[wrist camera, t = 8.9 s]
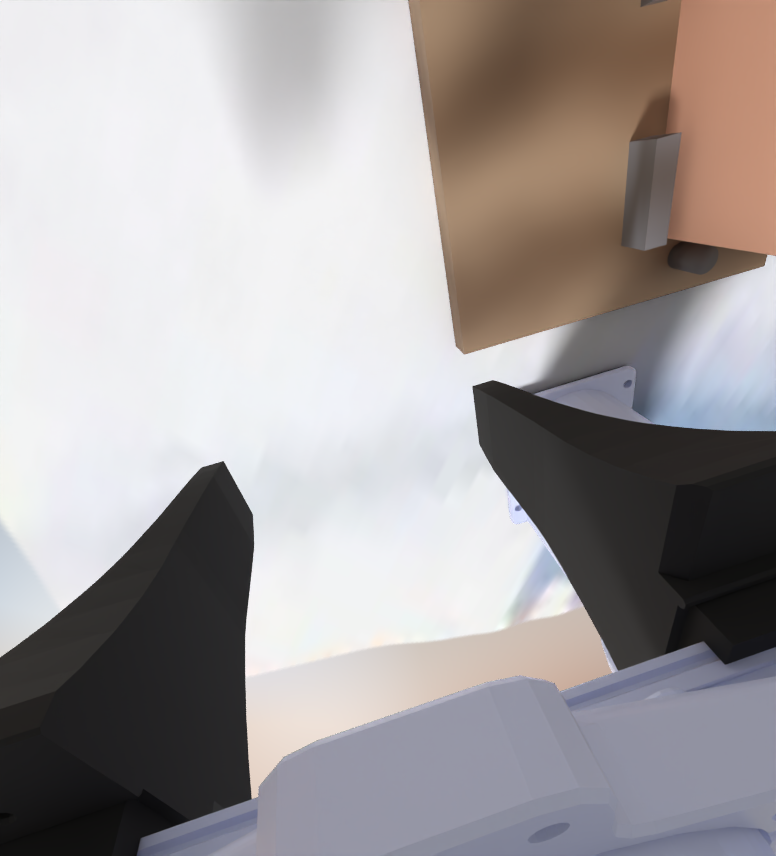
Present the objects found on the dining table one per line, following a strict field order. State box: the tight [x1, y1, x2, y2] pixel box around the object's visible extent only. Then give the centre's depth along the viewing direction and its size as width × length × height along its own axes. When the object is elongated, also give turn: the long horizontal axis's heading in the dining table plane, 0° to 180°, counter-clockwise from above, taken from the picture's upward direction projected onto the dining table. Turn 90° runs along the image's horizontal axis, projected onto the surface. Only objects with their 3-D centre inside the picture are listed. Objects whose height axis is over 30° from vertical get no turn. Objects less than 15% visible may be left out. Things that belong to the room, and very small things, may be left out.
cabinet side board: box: [408, 0, 767, 354], centre depth 16 cm, size 18×16×3 cm
